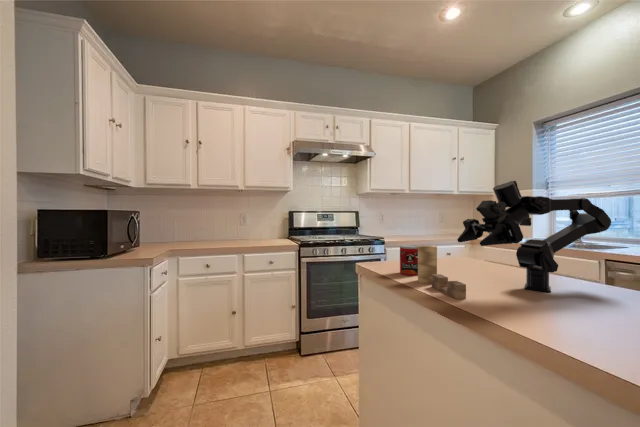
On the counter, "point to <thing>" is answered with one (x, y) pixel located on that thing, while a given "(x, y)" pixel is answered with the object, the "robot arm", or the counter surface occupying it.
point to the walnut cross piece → (449, 286)
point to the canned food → (409, 260)
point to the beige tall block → (427, 263)
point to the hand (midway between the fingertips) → (468, 242)
